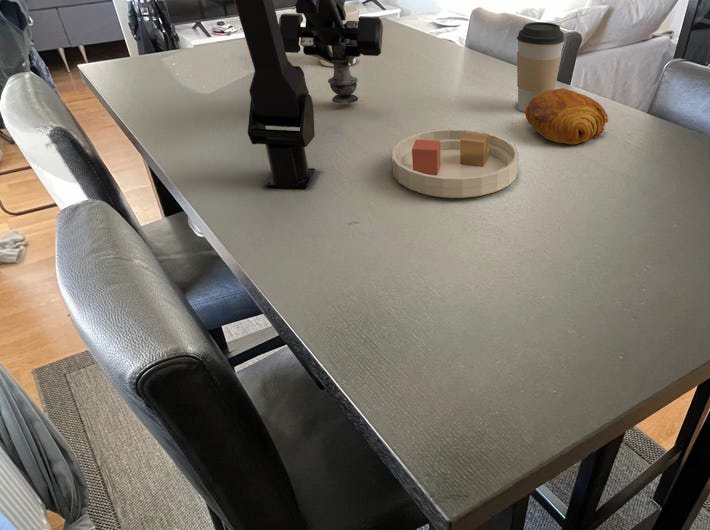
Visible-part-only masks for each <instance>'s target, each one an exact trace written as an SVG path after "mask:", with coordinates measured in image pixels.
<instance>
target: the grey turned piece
mask: <svg viewBox="0 0 710 530" xmlns="http://www.w3.org/2000/svg"><path fill="white" fill-rule="evenodd" d="M331 47H332V55H333V57H332V58H331V60H332V61H333V66H334V67H333V76H332V77H330V78H328V80H327V83H328V84H329V86H330V89H331V91H332V92H333V94H336V95H333V97H332V98H331V101H332V102H333V103H335V104H342V105H343V104H344V105H345V104H346V105H347V104H352V103H353V104H354V103H356V102H358V101H359V97H358V96H357V95H355V94H353V93H355V91H357V90H356V89H357V86H358V81H359V79H358V77H355V76H353V75H352V74H351V70H350V66H349V62H348V60H347V59H346V57H345V44H341V46H331Z"/></svg>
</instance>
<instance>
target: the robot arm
mask: <svg viewBox="0 0 710 530" xmlns="http://www.w3.org/2000/svg"><path fill="white" fill-rule="evenodd" d="M346 1H347V0H295V7H294V8H295V13H284V12H283V13H282V14H281V15H280V16H279V17H278V15H277V11H276V8H275V3H274V0H233V2H234V5H235V9H236V12H237V15H238V18H239V22H240V25H241V28H242V32H243V35H244V36H243V37H244V38H245V42H246V46H247V49H248V52H249V56H250V60H251V62H252V65H253V66H252V67H253V69H254V73H253V75H252V79H251V83H250V86H249V91H248V92H249V96H250V104H249V105H250V106H249V114H248V124H247V135H248V138H249V140H250V143H251V144H252V145H265V150H266V154H267V159H268V164H269V168H270V172H271V175H270V176H269V178H268V179H267V181H266V183H265V186H266V188H286V189H287V188H288V189H289V188H290V189H307V188H309V186H310V184H311V181H312V180H313V178H314V176H315V174H316V172H317V171H316V169H315V168H314V167H309V165H308V160H307V154H306V148H307V147H308V146H309V145H310V143H312V140H313V139H314V138H315V134H316V133H315V132H316V131H315V114H314V102H313V98H312V96H311V95H310V92H309V89H308V86H307V82H306V78H305V77H306V76H305V72H304V70H303V68H302V67H301V66H300V65H293V64H292V63H291V62H290V61H289V59H288V56H287V53H289V54H290V53H291V54H298V53H300V52H301V47H302V53H303V54H304V55H305V56H310V57H312V58H313V57H314V58H315V59H319V60H320V59H321V60H324V61H326V62H328V63H331V64H333V61H332V60H331V58H332V57H333V55H332V52H331V50H330V48H329V46H341V44H345V57H346V59H347V60H348V62H349V63H350V64H351V65H350V66H353V65H354V64H353V60H354V58H355V57H356V58H359V57H360V56H365V57H366V56H368V57H379V56H380V55H381V54H382V45H383V34H384V33H383V32H384V25H383V21H382V19H381V18H380V16H371V15H369V16H368V15H367V16H366V15H359V21H347V22H346V23H345V24H343V20H346V13H345V10H344V4H345V3H346ZM303 16H304V17H303ZM304 18H305V25H304V26H302V23H303V22H304ZM266 127H279V128H280V127H281V128H298V129H299V130H293V129H292V130H289V129H273V128H272V129H270V128H266Z"/></svg>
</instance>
